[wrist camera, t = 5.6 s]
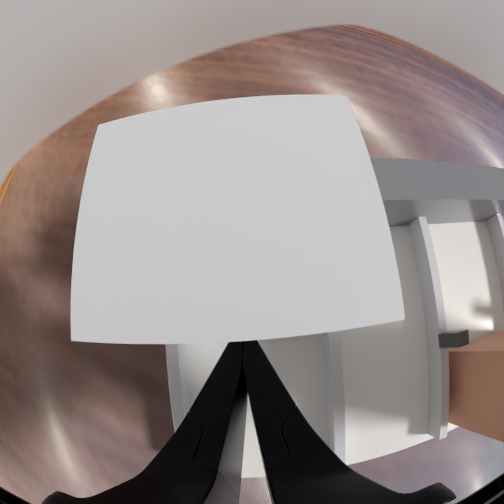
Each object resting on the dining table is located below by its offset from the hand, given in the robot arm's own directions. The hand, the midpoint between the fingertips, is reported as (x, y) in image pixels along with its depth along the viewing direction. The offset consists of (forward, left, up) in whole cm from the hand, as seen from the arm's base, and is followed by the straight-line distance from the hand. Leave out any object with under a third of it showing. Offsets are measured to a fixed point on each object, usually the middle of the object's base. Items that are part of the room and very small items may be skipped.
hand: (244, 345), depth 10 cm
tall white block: (+2, -2, -5) cm, 6 cm away
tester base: (-5, -6, -7) cm, 10 cm away
